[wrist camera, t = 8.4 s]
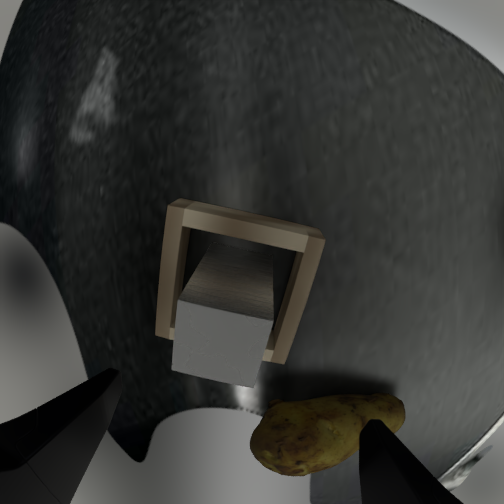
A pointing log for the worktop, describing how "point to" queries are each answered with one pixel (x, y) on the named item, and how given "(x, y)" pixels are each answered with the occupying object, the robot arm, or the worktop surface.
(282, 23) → the worktop surface
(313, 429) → the potato
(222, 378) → the brushed grey square prism
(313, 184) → the worktop surface
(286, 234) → the frame
